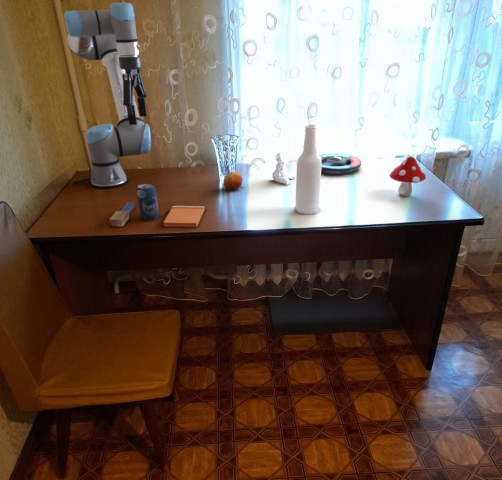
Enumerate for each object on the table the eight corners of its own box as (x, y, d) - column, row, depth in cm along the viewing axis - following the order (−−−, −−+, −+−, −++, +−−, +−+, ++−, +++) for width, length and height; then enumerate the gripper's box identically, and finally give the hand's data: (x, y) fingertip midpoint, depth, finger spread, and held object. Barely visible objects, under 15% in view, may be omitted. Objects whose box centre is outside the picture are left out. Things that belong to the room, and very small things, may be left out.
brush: (110, 226, 173) (109, 219, 171) (126, 207, 187) (124, 200, 185) (123, 226, 172) (121, 219, 170) (137, 208, 187) (136, 201, 185)
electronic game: (300, 167, 224) (300, 156, 221) (335, 157, 235) (336, 147, 232) (335, 179, 209) (335, 168, 206) (371, 168, 220) (372, 158, 217)
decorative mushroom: (394, 186, 200) (400, 149, 191) (427, 192, 194) (435, 154, 185) (381, 196, 191) (386, 158, 182) (415, 203, 184) (422, 163, 176)
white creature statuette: (288, 185, 204) (289, 156, 197) (269, 183, 206) (269, 154, 199) (294, 178, 211) (295, 150, 204) (275, 176, 214) (275, 148, 207)
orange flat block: (163, 226, 172) (163, 221, 171) (173, 209, 184) (173, 204, 183) (196, 227, 171) (196, 222, 169) (204, 210, 183) (204, 205, 182)
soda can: (147, 222, 175) (142, 190, 168) (137, 217, 179) (131, 185, 172) (163, 217, 178) (158, 185, 171) (153, 212, 183) (148, 181, 176)
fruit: (244, 189, 197) (234, 172, 194) (229, 198, 200) (218, 181, 197) (248, 182, 203) (238, 166, 200) (233, 191, 207) (223, 175, 203)
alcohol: (294, 205, 185) (297, 122, 167) (317, 205, 185) (322, 122, 167) (295, 214, 178) (298, 129, 160) (319, 214, 178) (325, 128, 160)
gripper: (128, 60, 159) (138, 128, 171) (148, 51, 179) (156, 113, 191) (106, 60, 159) (118, 128, 172) (129, 52, 179) (138, 113, 192)
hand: (138, 120), depth 182 cm, fingers open, 13 cm apart
